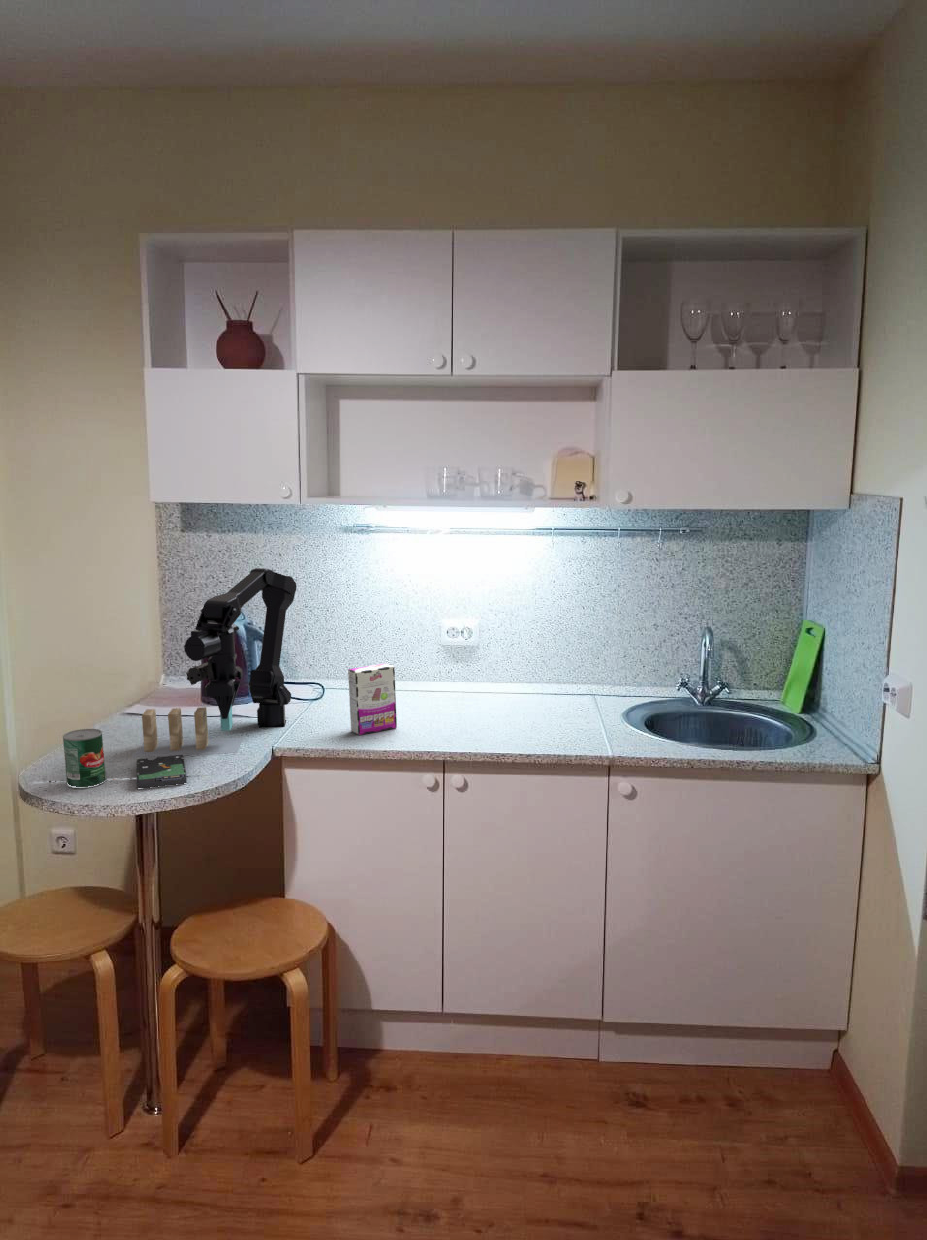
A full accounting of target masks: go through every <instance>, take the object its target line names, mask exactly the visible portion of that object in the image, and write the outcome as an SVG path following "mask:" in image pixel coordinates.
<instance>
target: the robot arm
mask: <svg viewBox="0 0 927 1240" xmlns="http://www.w3.org/2000/svg"><path fill="white" fill-rule="evenodd" d="M297 588H298V587H297V582H296V581H295V580H294V578H293V576H290V575H284V574H282V573H278V572H276V571H273V570H271V569H270V568H262V567H261V568H256V567H255V568H253V569H251V570H250V571H249V574H247V575H246V576H245V577H244V578H242V579H241V581H239V582H237V583H236V584H235V585H234V586H233V587H231V589H229V590H228V591H227V592H225V593H223V594H219V595H215V596H213V597H210V598H209V599H206V601H205V602H204V604H203V607H202V609H201V613H200V615H199V618H198V620H197V623H196V626H195V629H194V630H191V631H190V636H189V637H188V638H187V639H186V641H185V643H184V646H183V647H184V653H185V655H186V656H187V657H188V658H189V659H190V660H191V661H193V662H198V661H202V660H204V659H207V658H208V659H207V662H203V663H201V664H199V665H194V666H193V667H190V668H188V670H187V671H186V672H185V674H186V680H187V681H188V682H189V683H190V685H191V686H193V685H196V684H197V683H199V682H201V681H202V682H203V681H204V680H206V679H208V681H209V682H208V683H207V684H206V685H205V687H204V696H205V697H211V698H213V699H214V700H215V701H216V704H217V706H218V707H217V708H218V709H219V710H218V711H219V712H220V713H221V716H222V719H227V717H228V714H229V711H230V708H231V705H232V707H233V705H234V703H235V700H236V698H237V694H238V692H239V688H240V684H241V681H240V680H242V679H243V675H244V674H243V669H242V668H241V667H240V666H239V665H237V664H236V660H237V658H238V655H237V653H236V648H235V647H236V644H235V632H237V631H240V627H239V626H238V625H236V621H237V620H238V618H239V617H240V615H242V608H243V606H245V605H246V604H247V603H248V602H249V601H250V600H251V599H252V598H253V597H255V596H256V595H258V593H259V592H261V598H262V599H261V600H262V601H263V603H264V606H265V607H266V608H265V609H266V611H265V617H264V618H265V620H264V626H263V627H264V628H263V636H262V644H261V652H260V658H259V659H260V660H259V664H258V666H257V667H256V668H255V669H253V668H252V669H251V671H250V672H249V673H250V675H249V682H248V690H249V695H250V697H251V700H252V703H253V704H258V707H257V710H256V716H257V718H256V719H257V726H258V728H259V729H268V728H269V729H270V728H271V729H272V728H273V729H274V728H285V727H286V723H287V719H286V705H289V703H291V699H292V693H291V692H290V690H289V689H288V688H287V687H286V686H285V676H284V673H283V672H282V669H281V667H280V662H281V654H282V646H283V638H284V630H285V623H286V622H285V621H286V613H287V610H288V609H289V608H290V606H291V605H292V604H293V602H294V600H295V595H296V592H297ZM236 678H238V680H236ZM220 713H219V714H220Z"/></svg>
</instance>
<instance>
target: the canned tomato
mask: <svg viewBox="0 0 927 1240" xmlns="http://www.w3.org/2000/svg"><path fill="white" fill-rule="evenodd" d="M62 739H63V740H62V742H63V752H64V764H65V766H64V767H65V777H66V784H67V783H68V784H69V785H71V786H76V787H88V786H94V785H97V784H100V783H102V782H104V781H105V780H106V781H107V778H106V767H105V766H106V765H105V756H104V755H105V754H104V743H103V731H102V730H101V729H98V728H80V729H75V730H70V731H68V732H66V733H64V734H62ZM106 781H105V782H106ZM105 782H104V783H105Z"/></svg>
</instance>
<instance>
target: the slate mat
mask: <svg viewBox="0 0 927 1240" xmlns="http://www.w3.org/2000/svg"><path fill="white" fill-rule="evenodd" d="M243 741H244V737H226V738H225V737H224V738H221V737H220V738H208V745H207V747H206V749H205V750H196V738H194V739H183V745H182V747H181V748H180V750H179V751H171V750H170V739H169V740H158V746H157V747H156V748H155V750H154V751H153V752H145V751H144V741H143V743H142V744H141V745H140V746H139V748H137V750H136V751H135V753H134V754H133V755H132V758H142V757H143V758H144V757H145V758H146V757H164V756H175V755H183V756H194V755H219V754H221V755H222V754H237V753H238V752H239V750H240V748H241V745H242V743H243Z"/></svg>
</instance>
